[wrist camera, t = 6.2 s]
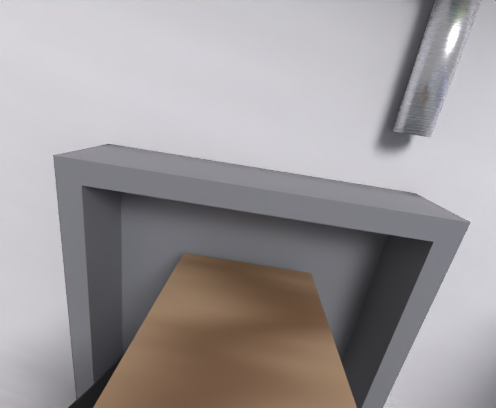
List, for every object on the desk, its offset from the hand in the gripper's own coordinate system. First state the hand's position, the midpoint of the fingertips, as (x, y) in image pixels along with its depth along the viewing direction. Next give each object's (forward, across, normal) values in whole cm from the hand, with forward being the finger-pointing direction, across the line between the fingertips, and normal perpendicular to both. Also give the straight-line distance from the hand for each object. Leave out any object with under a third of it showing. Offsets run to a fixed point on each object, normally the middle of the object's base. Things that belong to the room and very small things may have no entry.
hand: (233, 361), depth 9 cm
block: (+2, 0, 0) cm, 2 cm away
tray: (+4, 0, 0) cm, 4 cm away
